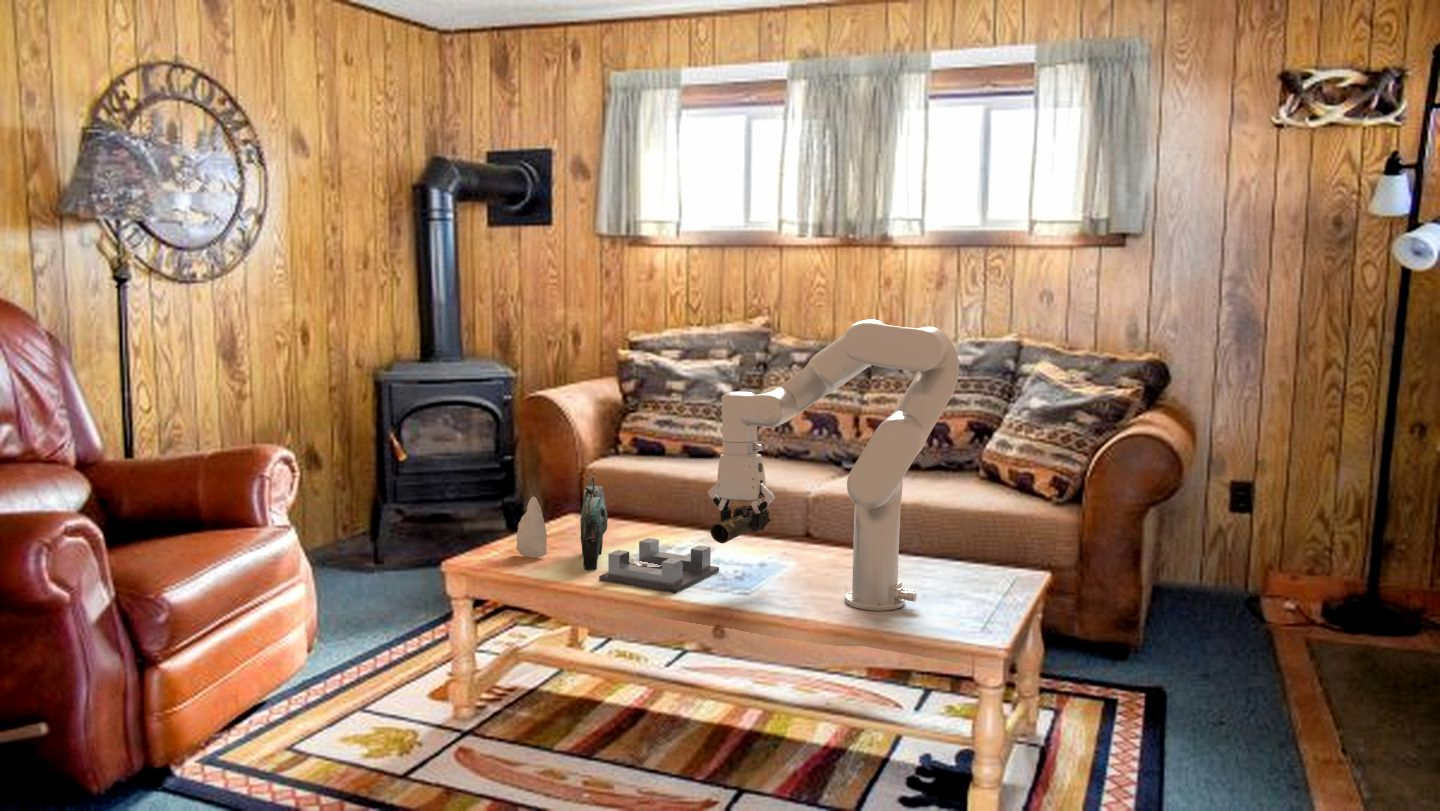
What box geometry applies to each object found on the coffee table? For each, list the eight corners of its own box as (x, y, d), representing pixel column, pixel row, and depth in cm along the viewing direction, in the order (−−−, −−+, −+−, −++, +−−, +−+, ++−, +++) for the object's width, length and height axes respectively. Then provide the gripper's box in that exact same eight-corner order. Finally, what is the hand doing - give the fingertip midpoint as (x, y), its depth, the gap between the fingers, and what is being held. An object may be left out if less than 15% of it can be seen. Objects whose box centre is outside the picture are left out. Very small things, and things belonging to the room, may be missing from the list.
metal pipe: (728, 545, 229) (727, 518, 229) (703, 541, 233) (702, 515, 233) (774, 528, 244) (774, 503, 243) (750, 525, 248) (749, 500, 247)
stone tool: (550, 556, 265) (549, 496, 264) (543, 559, 263) (543, 498, 261) (519, 553, 268) (518, 493, 266) (512, 556, 265) (511, 495, 264)
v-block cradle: (719, 571, 254) (719, 546, 253) (675, 593, 236) (675, 566, 235) (646, 560, 263) (646, 535, 262) (599, 580, 245) (599, 554, 245)
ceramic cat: (584, 549, 273) (583, 471, 270) (610, 549, 273) (609, 471, 270) (576, 571, 253) (576, 486, 250) (604, 571, 253) (604, 486, 251)
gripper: (783, 448, 236) (784, 528, 238) (713, 444, 244) (714, 522, 246) (768, 453, 229) (770, 536, 231) (696, 448, 237) (698, 529, 239)
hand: (741, 528), depth 238 cm, fingers closed on metal pipe, 6 cm apart
